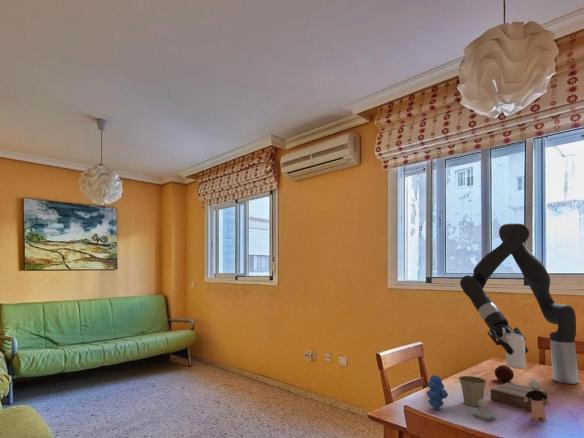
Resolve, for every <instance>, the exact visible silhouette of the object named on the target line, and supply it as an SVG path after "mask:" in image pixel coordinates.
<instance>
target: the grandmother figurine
mask: <svg viewBox="0 0 584 438" xmlns="http://www.w3.org/2000/svg"><path fill="white" fill-rule="evenodd" d="M528 385H529V387H530V388H532V389H533V390H534V391H529V392H528V393H527V394H526V395H525V399H524V402H527V401H528V399H530V398H531V406H532V411H531V413H532V416H531V420H533V421H536V422H539V421H542V422H547V418H546V411H545V405H543V401H542V398H543V399H544V400H545V401H546V403H547V404H546V405H551V402H550V401H549V398H548V395H547V396H546V395H545V394H544V393H543V392H542V391H543V390H542V391H538V390H541V388H542V384H541V382H540V380H539V379H537V378H536V379H535V378H533V379H531V380H530V381H529V384H528Z"/></svg>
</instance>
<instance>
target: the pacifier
mask: <svg viewBox="0 0 584 438" xmlns="http://www.w3.org/2000/svg"><path fill="white" fill-rule="evenodd" d="M478 405H479V406H478V407H479V409H478V408H474V407H472V408H471V410H470V411H471V413H472V414H473V415H475V416H476V417H477V418H478V419H481V420H485V421H490V420H496V418H497V417H496V413H494V412H489V411H487V409H488V407H489V406H488V405H489V404H488V402H487V401H486V400H484V398H483V399H480V400H479V401H478Z"/></svg>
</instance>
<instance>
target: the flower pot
mask: <svg viewBox="0 0 584 438" xmlns="http://www.w3.org/2000/svg"><path fill="white" fill-rule="evenodd" d="M458 380H459V383H460V385H461V390H462V397H463V402H464V404H466V406H471V407H479V405H478V401H479V400H480V399H483V400H484V395H485V387H486V384H487V382H488V381H487V380H486V379H484V378H482V377H478V376H473V375H462V376H459V377H458Z"/></svg>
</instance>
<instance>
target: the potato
mask: <svg viewBox="0 0 584 438" xmlns="http://www.w3.org/2000/svg"><path fill="white" fill-rule="evenodd" d="M511 368H512V367H509V366H507V365H505V364H501V365H498V366H497V367H496V368H495V369H494V375H495V377H496V379H497V380H499V381H500V382H502V383H507V382H508V383H510V381H512V380H513V379H514V375H515V374H514V371H513V369H511Z"/></svg>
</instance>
